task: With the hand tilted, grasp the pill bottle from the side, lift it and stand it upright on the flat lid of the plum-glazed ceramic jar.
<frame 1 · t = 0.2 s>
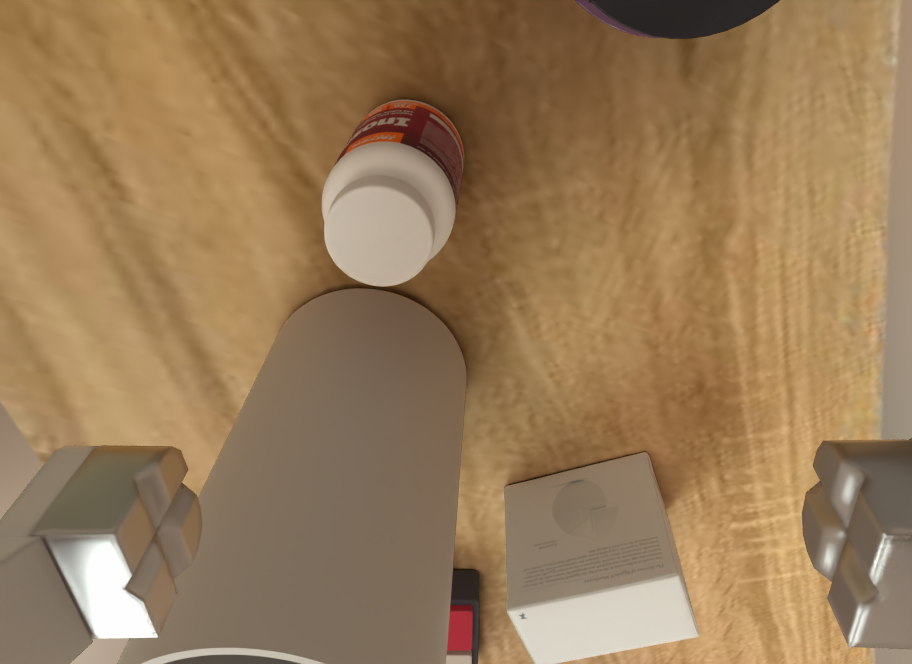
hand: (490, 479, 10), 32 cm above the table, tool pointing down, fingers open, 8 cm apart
cosmetics box: (586, 497, 54), on the table
pill bottle: (408, 152, 41), on the table
cylinder vase: (371, 366, 49), on the table
calculator: (387, 608, 61), on the table
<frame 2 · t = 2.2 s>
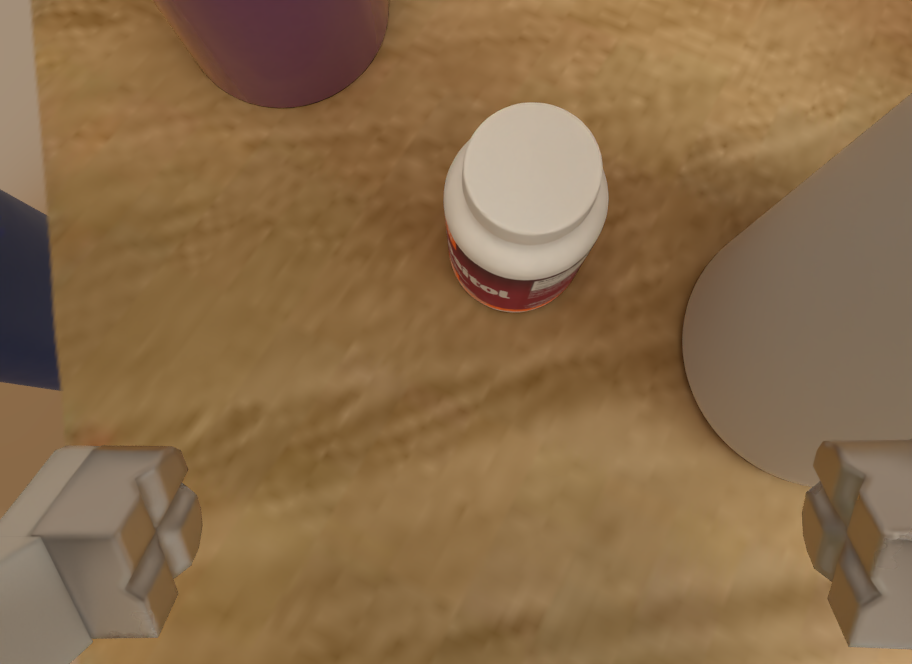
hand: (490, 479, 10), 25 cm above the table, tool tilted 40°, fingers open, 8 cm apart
pill bottle: (513, 253, 36), on the table
cylinder vase: (811, 350, 35), on the table
jar: (286, 11, 38), on the table
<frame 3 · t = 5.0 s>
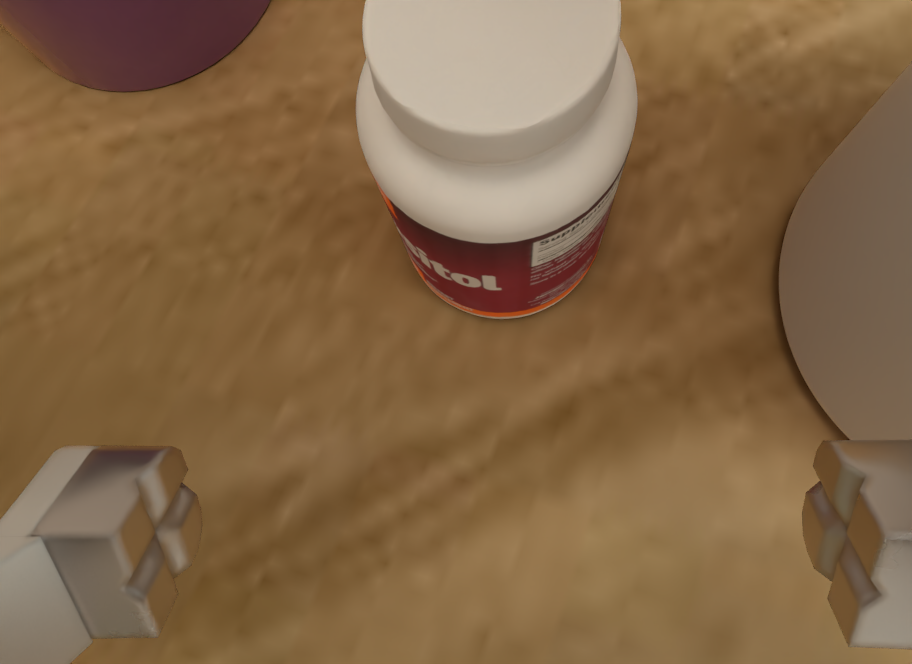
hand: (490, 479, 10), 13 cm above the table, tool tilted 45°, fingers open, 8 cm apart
pill bottle: (503, 233, 24), on the table
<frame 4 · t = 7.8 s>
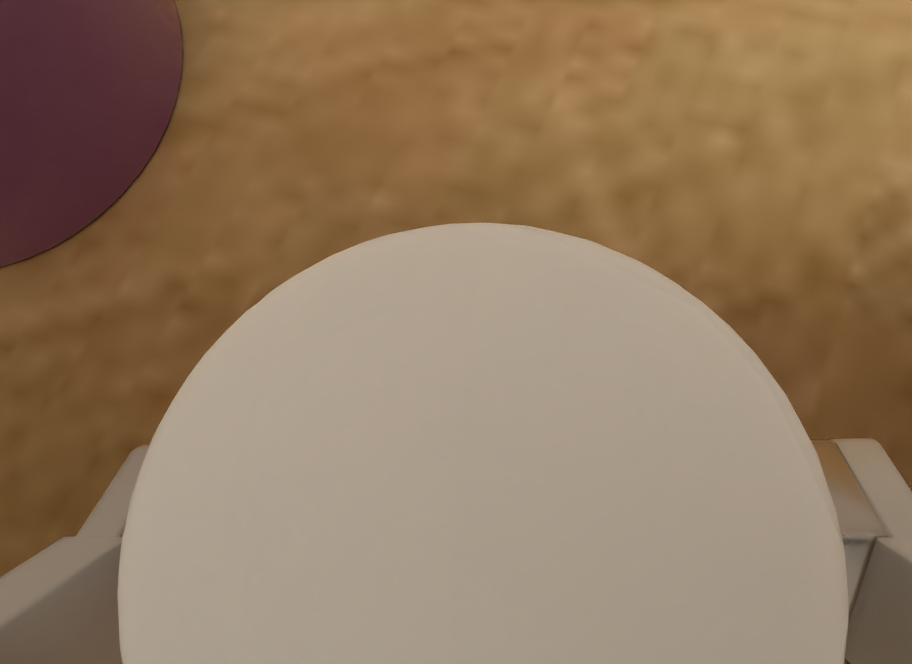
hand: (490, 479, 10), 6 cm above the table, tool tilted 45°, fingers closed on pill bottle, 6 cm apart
pill bottle: (505, 521, 16), on the table, touching gripper
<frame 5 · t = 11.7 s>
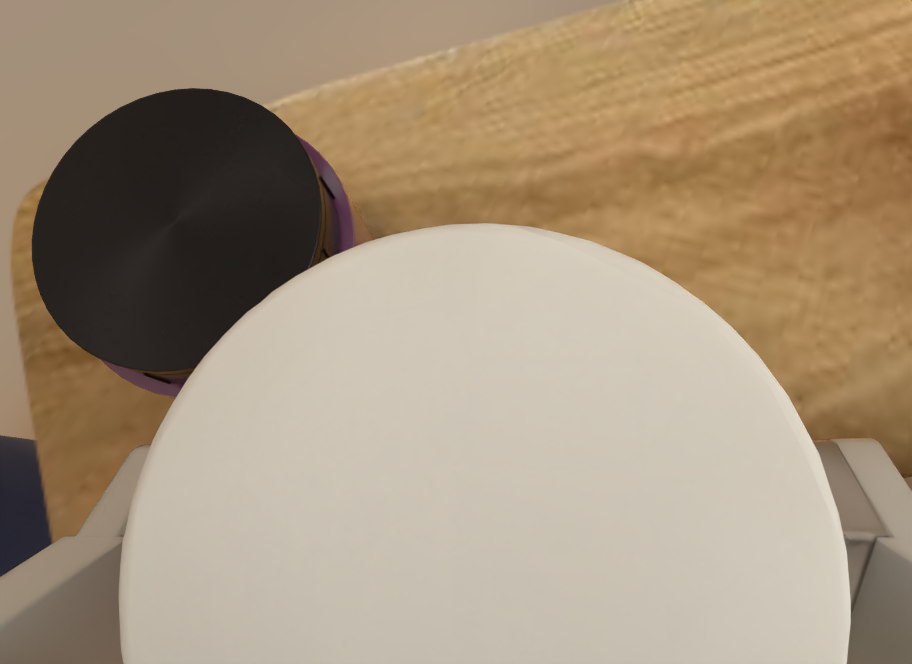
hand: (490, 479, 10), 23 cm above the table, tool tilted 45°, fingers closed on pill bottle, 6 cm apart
jar lid: (181, 228, 24), point 11 cm above the table, screwed on, not yet turned
pill bottle: (505, 521, 16), point 17 cm above the table, touching gripper
jar: (289, 315, 35), on the table
when the fingers open (17 cm above the table, at t = 16.0 s): pill bottle stays where it is, resting on jar lid.
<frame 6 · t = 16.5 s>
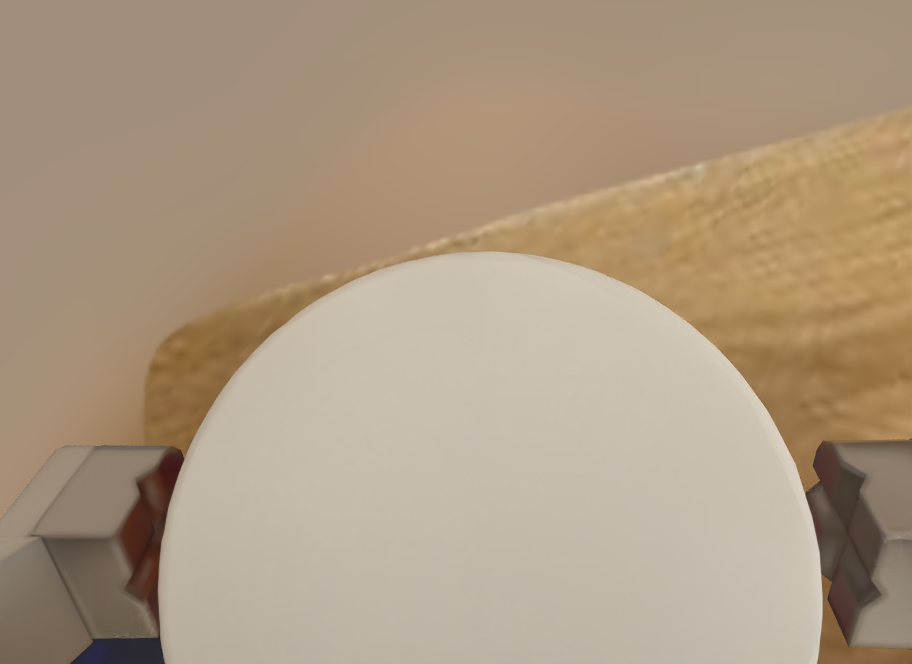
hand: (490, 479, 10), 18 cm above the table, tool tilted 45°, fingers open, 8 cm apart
pill bottle: (507, 523, 16), point 11 cm above the table, touching jar lid
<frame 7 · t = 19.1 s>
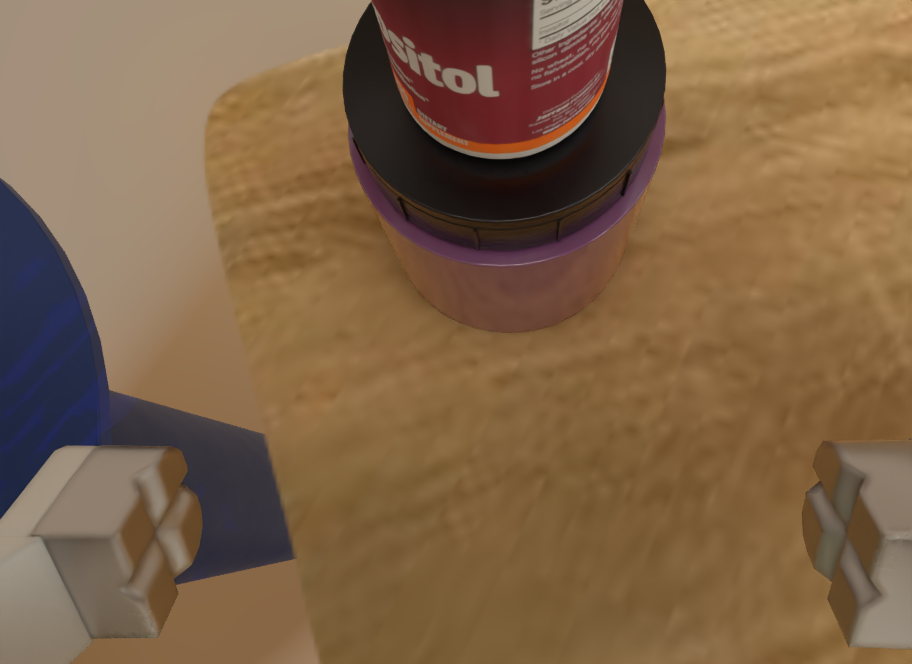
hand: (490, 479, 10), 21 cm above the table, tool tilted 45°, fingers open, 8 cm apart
jar lid: (501, 80, 22), point 11 cm above the table, screwed on, not yet turned, touching pill bottle
pill bottle: (502, 75, 22), point 11 cm above the table, touching jar lid
jar: (509, 219, 33), on the table
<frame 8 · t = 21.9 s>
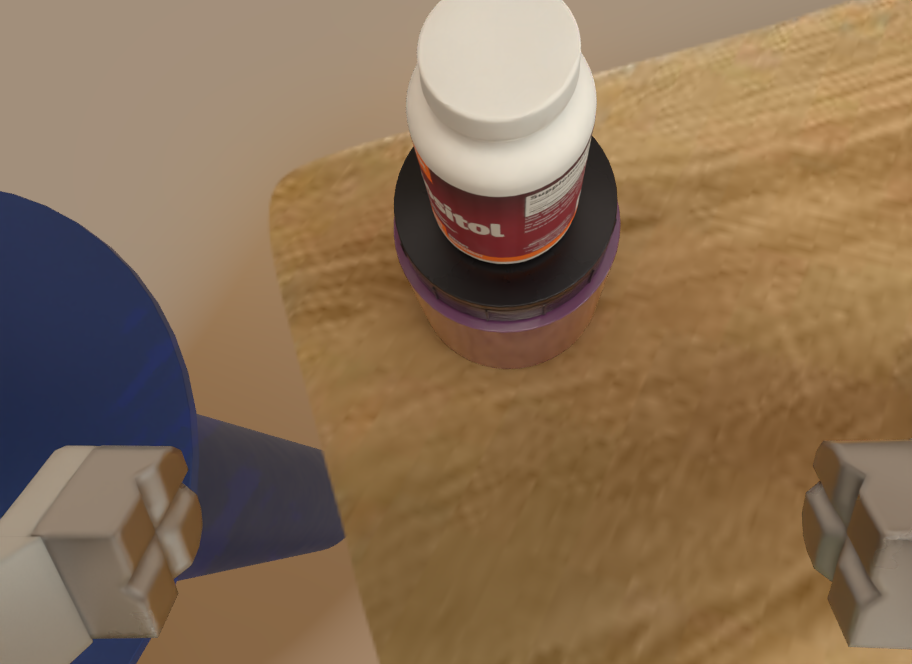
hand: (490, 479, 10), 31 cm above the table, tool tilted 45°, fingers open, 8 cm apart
jar lid: (504, 204, 32), point 11 cm above the table, screwed on, not yet turned, touching pill bottle
pill bottle: (505, 201, 32), point 11 cm above the table, touching jar lid
jar: (508, 280, 43), on the table
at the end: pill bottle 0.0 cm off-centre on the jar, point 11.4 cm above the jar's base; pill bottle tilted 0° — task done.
